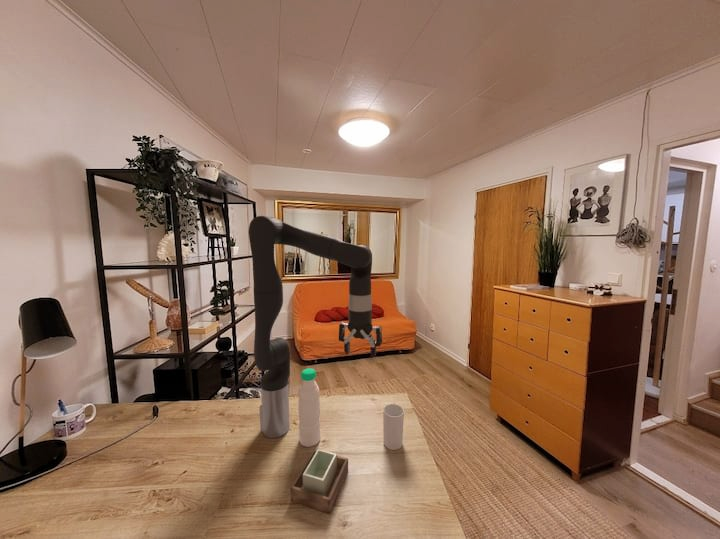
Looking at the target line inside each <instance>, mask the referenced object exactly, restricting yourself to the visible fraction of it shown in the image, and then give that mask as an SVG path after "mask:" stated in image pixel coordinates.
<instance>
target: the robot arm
mask: <svg viewBox="0 0 720 539" xmlns="http://www.w3.org/2000/svg"><path fill="white" fill-rule="evenodd" d="M248 239H249V240H248V241H249V245H250V246H249V248H250V251H251V253H250V254H251V258H252V261H251V262H252V276H253V279H252V280H253V304H254V305H253V306H254V324H255V325H254V340H253V359H254V362H255V365H256V368H257V369H258V370H259V371H260V372H265V373H264V374H263V375H262V376H261V378H260V394H261V405H260V406H259V408H258V409H259V424H260V426H259V427H260V432H261V433H262V434H263V436H265V437H266V438H269V439H270V438H271V439H276V438H280V437H282V436H284V435H285V434H286V433H288V431H289V430H290V427H291V426H290V393H289V378H290V375H291V373H290V372H291V371H290V370H291V349H290V345H289V343H288V341H287V340H286V339H285V338H283V337H276V338H274V339H271V335H272V334H271V333H272V331H273V330H272V329H273V327H274V324H275V322H276V320H277V318H278V317H279V314H280V312H281V310H282V308H283V304H284V287H283V282H282V278H281V276H280V272H279V270H278V269H277V264H276V261H275V245H283V246H291V247H295V248H298V249H299V250H303V251H305V252H306V253H309V254H311V255H314V256H317V257H320V258H324V259H327V260H330V261H335V262H337V263H340V264H341V265H345V266H347V267H350V268H351V270H350V271H351V273H350V278H349V282H348V285H349V287H348V289H349V290H348V292H349V293H348V323H346V322H345V321H342V322H340V324H339V325H338V327H339V328H338V342H343V345H344V346H343V348H344V353H345V355H349V354H350V352H351V339H352V338H354V339H361V340H364V339H365V341H366V342H367V343H368V344H369V346H370V359H374V357H375V356H376V355H377V347H381V345H382V344H383V334H382V331H383V330H382V328H383V327H382V326H381V325H378V326H373V323H372V321H373V320H372V319H373V316H372V315H373V314H372V313H373V311H372V310H373V309H372V308H373V302H372V301H373V299H372V277H371V276H372V269H373V253H372V251H371V249H370V248H369V247H368V246H367V245H363V244H360V245H359V244H358V245H357V244H353V243H349V242H347V241H346V242H345V241H343V240H341V239H339V238H336V237H332V236H329V235H325V234H321V233H317V232H314V231H313V232H312V231H308V230H304V229H301V228H297V227H295V226H293V225H291V224H289V223H286V222H284V221H283V220H281V219H278V218H276V217H272V216H264V215H258V216H255V217H254V218H252V219H251V221H250V222H249V226H248ZM347 329H348V332H350V333H349V334H348V335H347V336H345V335H346V330H347ZM372 332H374V334H375V335H376V336H375V337H376V338H374V335H373V334H372Z"/></svg>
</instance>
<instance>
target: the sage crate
mask: <svg viewBox="0 0 720 539" xmlns="http://www.w3.org/2000/svg"><path fill="white" fill-rule="evenodd" d="M316 450H317V451H316V453H315V455H314V456H313V458H312V460H311V461H310V463H309V465H308V466H307V468H306V470H305V471H304V473H303V489H304V490H307V491H310V492H313V493H317V494H320V495H323V496H326V495H327V493H328V491H329V489H330V486H331V484H332V482H333V480H334V478H335V476H336V473H337V456H338V454H337V453H334V452H331V451H327V450H323V449H319V448H317V449H316Z"/></svg>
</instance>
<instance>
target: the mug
mask: <svg viewBox="0 0 720 539" xmlns="http://www.w3.org/2000/svg"><path fill="white" fill-rule="evenodd" d="M382 416H383V422H382V423H383V444H384V446H385V448H387V449H389V450H391V451H397V450H399V449H401V447H402V445H403V439H404V437H403V436H404V419H405V418H404V417H405V410H404V408H403V407H402V406H401V405H400V404H397V403H395V402H392V403H389V404H386V405H385V406H384V407H383V415H382Z"/></svg>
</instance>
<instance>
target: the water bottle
mask: <svg viewBox="0 0 720 539" xmlns="http://www.w3.org/2000/svg"><path fill="white" fill-rule="evenodd" d="M316 376H317V372H316V370H315V369H314V368H305V369H302V371H301V372H300V378H301V381H302V382H301V383H300V386H299V388H298V392H297V395H298V420H299V424H298V429H299V430H298V431H299V435H298V436H299V438H298V439H299V443H300V444H301V446H303V447H306V448H311V447H314V446H316V445H317V444H318V443H319V442H320V440H321V419H320V415H321V408H320V407H321V403H320V388H319V385H318V384H317V382H316Z"/></svg>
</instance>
